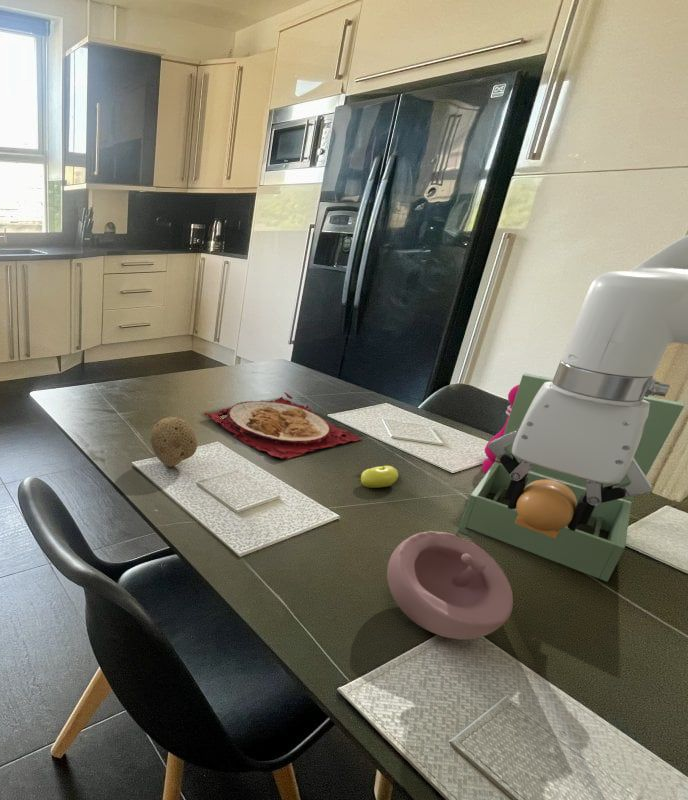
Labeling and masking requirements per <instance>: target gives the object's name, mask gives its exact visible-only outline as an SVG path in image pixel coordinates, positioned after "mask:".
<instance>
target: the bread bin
mask: <svg viewBox="0 0 688 800" xmlns="http://www.w3.org/2000/svg"><path fill="white" fill-rule="evenodd" d="M527 478H528V480H527V483H526V485H525V487H526V486H527V485H528V484H530V483H531V482H534V481H537V480H543V479H548V480H554V481H558V482H561V483H563V484H564V485H566V486H567V487H569V488H570V489H571V490H572V491H573V493H574V494H575V496H576V500H577V503H578V501H579V499H580V497H581V495H584V493H585V492H586V487H583V486H580V485H576V484H573V483H570V482H566V481H563V480H560V479H556V478H553V477H550V476H546V475H543V474H539V473H536V472H533V471H529V472H528V473H527ZM510 482H511V478H510V474H509V473H508V472H507V470H506V469H505V468H504V466H503V465H502V463H498V462H494V464H493V465H492V467H491V468H490V469H489V471H488V472H487V473H485V474H484V476H483V477H482V479H481V480H480V481H479V483H478V484H477V486H475V488H474V490H472V492H471V494H470V495H469V498H468V501H467V502H466V503H467V504H466V506H465V509H464V512H463V515H462V517H461V521H460V524H459V526H458V529H457V532H458V533H461V534H463V535H466V536H468V537H471V535H470V533H469V531H468V529H469V530H472V531H474V532H477V533H480V534H483V535H485V536H488V537H491V538H492V539H496V540H498V541H501V542H503V543H505V544H509V545H511V546H513V547H517V548H518V549H522V550H523V551H527V552H529V553H532V554H533V555H534V554H535V555H537V556H539V557H542V558H544V559H548V560H550V561H553V562H555V563H557V564H561V565H562V566H565V567H568V568H571V569H573V570H576V571H578V572H581V573H584V574H586V575H589V576H591V577H594V578H596V579H599V580H602V581H604V582H607V583H608V582H609V579H610V578H611V576H612V574H613V572H614V570H615V568H616V566H617V565H618V563H619V560H620V558H621V557H622V554H623V553H624V551H625V548H626V542H627V534H628V528H629V522H630V515H631V509H632V503H633V502H632V501H630V500H627V499H623V498H621V499H616V500H612V501H608V502H604V503H601V504H600V505H597V506H595V508H594V510H593V512H592V514H591V515H594V516H597V517H601V518H604V519H605V521H604V522H602V524H601V528H600V530H601V531H605V532H608V534H607V539H606V538H604V537H600V536H599V537H598V536H595V535H594V534H592V533H589V532H586V531H583V530H581V529H577V528H576V530H575V531H572V530H569V528H567V527H568V525H567V526H566V527H564V528H562V529H560V530H559V533H558V535H557V537H556V539H555V538H552V537H549V536H547V535H544V534H541V533H538V532H536V531H533V530H530V529H527V528H525V527H522V526H519V525H516V524H515V521H516V519H517V516H518V513H517V510H516V508H515V509H509V508H508V505H507V504H505V503H502V502H498V501H493V499H490V498H487V497H488V495H489V494H492V495H496V494H497V492H498V491H499V489H500V488H499V486H500V485H501V486H505V487H509V484H510ZM506 492H507V490H505V492H504V494H503V497H504V498H505V495H506ZM503 497H502V498H503ZM595 520H596V519H593V518H589V520H588V523H587V525H586V526H589V527H593V524H594V522H595Z"/></svg>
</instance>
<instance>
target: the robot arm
mask: <svg viewBox="0 0 688 800" xmlns="http://www.w3.org/2000/svg"><path fill="white" fill-rule="evenodd" d="M675 343H676V344H677V343H678V344H684V345H688V234H687V235H685V236H682V237H680V238H679V239H677V240H675V241H673V242H671V243H669V244H668V245H667V246H665V247H663V248H662V249H660V250H658V251H657V252H656V253H654V254H652V255H651V256H649V257H648V258H646V259H644V260H643V261H642V262H640V263H638V264H637V265H635V266H634V267H632V268H631V269H630V270H617V271H616V270H615V271H614V270H613V271H607V272H604V273H601V274H600V275H598V276H596V277H595V278H594V279H593V280H592V282H591V284H590V285H589V287H588V290H587V292H586V295H585V297H584V299H583V303H582V305H581V308H580V310H579V313H578V315H577V318H576V320H575V324H574V326H573V328H572V331H571V334H570V336H569V338H568V341H567V343H566V346H565V348H564V350H563V353H562V356H561V359H560V361H559V364H558V367H557V368H556V371H555V374H554V377H553V382H545V383H544V384H543V385H542V387H541V388H540V390H539V391H538V393H537V394H536V396H535V398H534V399H533V401H532V403H531V405H530V407H529V409H528V411H527V413H526V415H525V417H524V419H523V421H522V424H521V426H520V428H519V429H517V430H515V431H512V432H510V433H508V434H506V435H503V436H501V437H499V438H497V439H494V440H492V441H491V442H490V443H489V444H488V447H489V449H490V450H491V451H492V452H493V453H494V454H495V456H496V457H498V458H499V459H500V462H501V463H502V465H503V466H504V468H505V469H506V470H507V472H508V473H509V474H510V478H511V482H510V484H509V487H508V490H507V492H506V495H505V497H504V499H506V500H508V501H509V503H508V505H507V506H508V508H509V509H515V508H516V505H517V501H518V499H519V497H520V495H521V494H522V492H523V490H524V488H525V485H526V483H527V480H528V478H527V473H528V472H531V471H530V470H531V469H532V468H533V467H534V466H535V465H538V466H541V467H545V468H548V469H551V470H555V471H558V472H562V473H565V474H568V475H572V476H575V477H579V478H582V479H586V487H585V488H586V492H585V493H584V495H581V497H580V499H579V501H578V503H577V505H576V508H575V511H574V514H573V518H572V520H571V522H570V523H569V524H568V525H567V526H568V527H567V528H569V530H572V531H575V530H576V529H577V528H576V527H578V525H579V524H580V525H583V526H588V525H587V523H588V520H589V518H590V516H591V514H592V512H593V510H594V508H595V506H597V505H600V504H601V503H604V502H608V501H612V500H616V499H624V498H623V497H627V496H635V497H636V496H641V495H646V494H650V493H651V492H652V490H653V486H652V483H651V482H650V481H649V479H648V477H647V475H646V476H645V474H644V473H643V471H642V470H641V468H640V467H639V465H638V464H637V462H636V460H635V459H634V455H635V452H636V450H637V448H638V445H639V442H640V440H641V437H642V434H643V431H644V428H645V425H646V421H647V418H648V413H649V407H650V403H649V402H648V401H646V400H643V398H644V396H645V397H654V396H658V397H663V398H665V397H666V395H667V394H668V391H669V389H670V386H671V384H666V383H662V382H661V381H657V379H656V378H653V377H654V376H655V374H656V371H657V370H658V367H659V365H660V363H661V361H662V358H663V357H664V355H665V352H666V351H667V348H668V346H669V345H670V344H675ZM511 444H513V446H512V454H511V453H510V452H509V450H508V449H507V448H506V447H507V446H509V445H511ZM514 456H515V457H517V458H518V459H520V460H521V461H520V462H518V461H517V459H516V458H515V457H514ZM625 474H626V476H627V477H628V479H629V480H630V482H628V483H624V484H617V483H619V482H620V481H621V480H622V479H623V478H624V476H625ZM603 484H615V485H611V486H607V487H603Z"/></svg>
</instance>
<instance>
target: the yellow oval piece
mask: <svg viewBox="0 0 688 800" xmlns="http://www.w3.org/2000/svg"><path fill="white" fill-rule="evenodd" d="M360 475H361V476H360V481H361V485H362V486H364V487H366V488H370V489H377V488H378V489H379V488H386V487H391V486H392V485H393V484H394V483H396V482H397V480H398V478H399V472H398V470H397V468H395V467H394V466H392V465H383V466H375V467H371V468H367V469H365V470H363V471H362V473H361V474H360Z"/></svg>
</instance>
